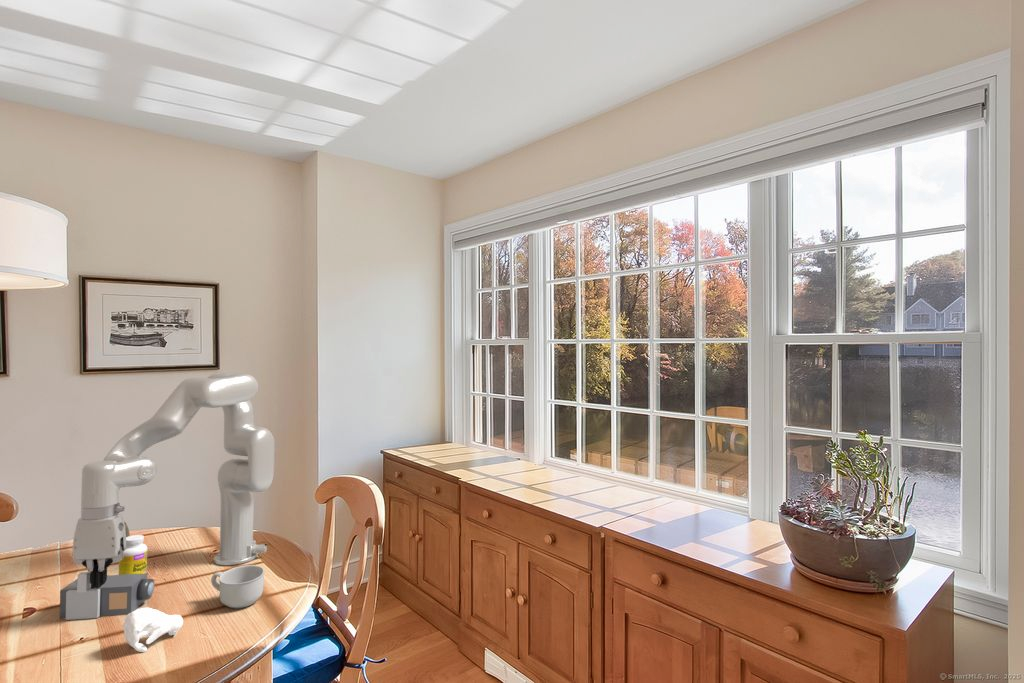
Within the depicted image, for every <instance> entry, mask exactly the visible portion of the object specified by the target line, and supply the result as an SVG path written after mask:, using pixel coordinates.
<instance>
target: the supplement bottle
mask: <svg viewBox="0 0 1024 683" xmlns="http://www.w3.org/2000/svg"><path fill="white" fill-rule="evenodd" d="M144 541H145V536H144V535H143V534H133V535H130V536H129V537H126V550H125V551H123V555H124V559H122V560H121V561H119V562H118V575H124V574H143V573H147V572H148V550H149V549H148V546H147V545H146V544H145V543H144ZM147 574H148V573H147Z"/></svg>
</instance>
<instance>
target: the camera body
mask: <svg viewBox="0 0 1024 683" xmlns="http://www.w3.org/2000/svg"><path fill="white" fill-rule="evenodd" d="M77 579H78V578H76V579H75V580H73V581H72V582H70V583H69V584H67V585H66V586H65V587H63V588H62V589H60V593H59V619H60V620H61V619H66V592H67V591H69V590H77ZM90 589H100V616H99V617H105V616H108V617H109V616H121V615H122V616H123V615H128V614H129V613H131V612H133V611H135V610H137V609H139V608H140V606H141V605H143V604H144V603H145V602H146V601H148V600H150V599H151V597H152V596H153V593H154V590H155V581H154V579H153V578H148V573H143V574H124V575H119V574H111V575H110V574H107V580H106V582H105V584H103V585H102V586H101V587H99V588H96V587H95V588H91V584H90Z"/></svg>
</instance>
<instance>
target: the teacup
mask: <svg viewBox="0 0 1024 683" xmlns="http://www.w3.org/2000/svg"><path fill="white" fill-rule="evenodd" d="M217 577H218V580H217ZM218 581H219V582H218ZM210 582H211V585H212V587H213V588H214V589H215V590H217V591H218V592H219V599H220V601H221V603H222V604H223V605H225V606H227V607H228V608H230V609H244V608H246V607H249V606H251V605H253V604H254V603H256V601H257V600H259V599H260V598H261V596H262V594H263V592H264V584H265V569H264V567H263V566H261V565H257V564H256V565H254V564H246V565H240V566H236V567H233V568H229V569H228V570H225V571H224V572H223V571H217V572H215V573H214V574H213V575H212V576H211V580H210Z"/></svg>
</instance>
